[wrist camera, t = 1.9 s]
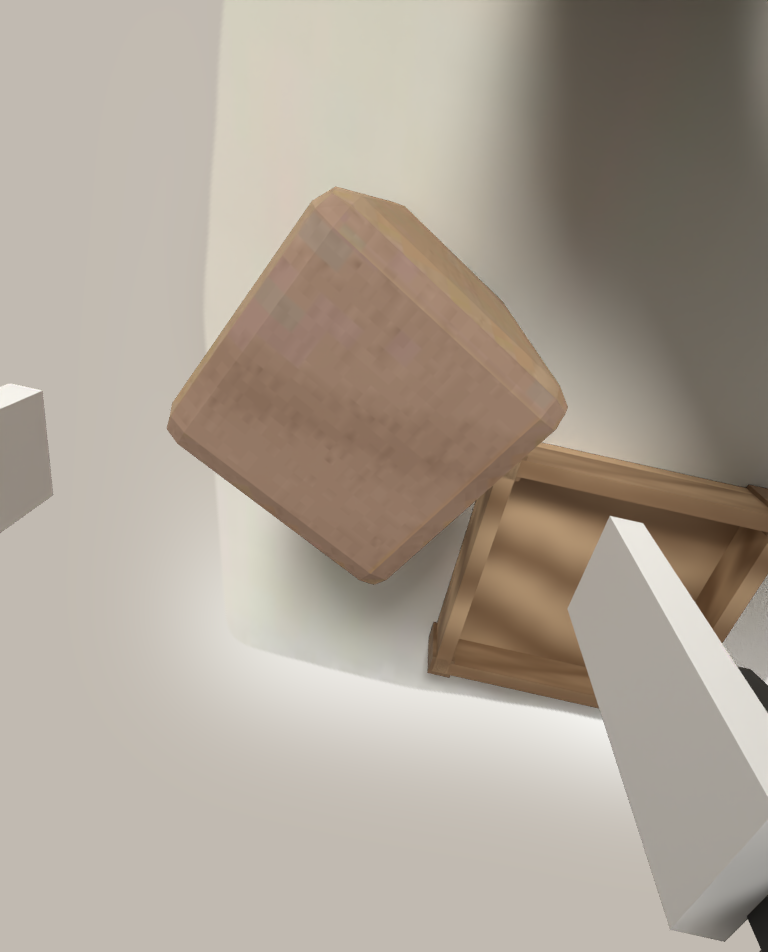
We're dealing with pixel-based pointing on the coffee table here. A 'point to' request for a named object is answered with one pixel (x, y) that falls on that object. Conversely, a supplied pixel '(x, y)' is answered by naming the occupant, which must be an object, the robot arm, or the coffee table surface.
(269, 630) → the coffee table surface
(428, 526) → the wooden block
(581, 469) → the crate
